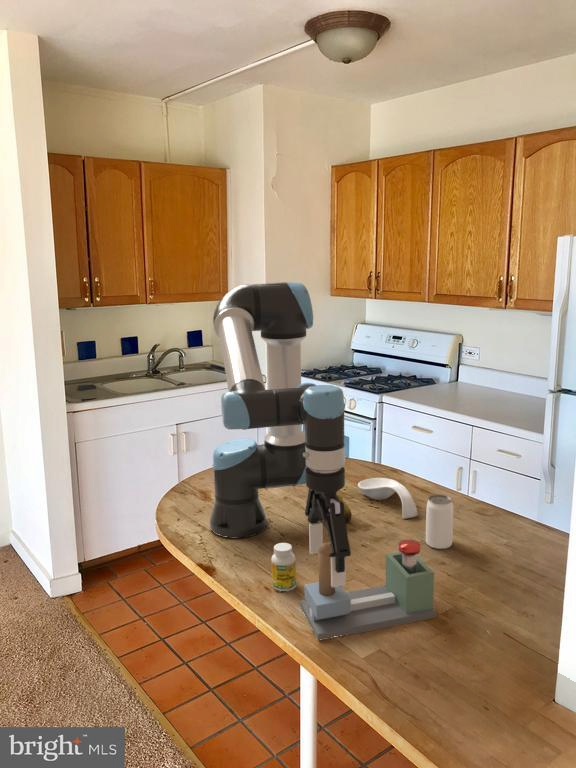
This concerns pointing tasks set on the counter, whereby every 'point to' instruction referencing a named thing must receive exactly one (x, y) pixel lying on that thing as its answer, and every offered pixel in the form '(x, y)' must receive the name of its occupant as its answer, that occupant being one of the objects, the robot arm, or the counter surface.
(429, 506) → the can
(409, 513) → the spoon rest
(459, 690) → the counter surface
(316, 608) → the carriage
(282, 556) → the supplement bottle
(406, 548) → the button
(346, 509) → the potato
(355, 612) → the track
